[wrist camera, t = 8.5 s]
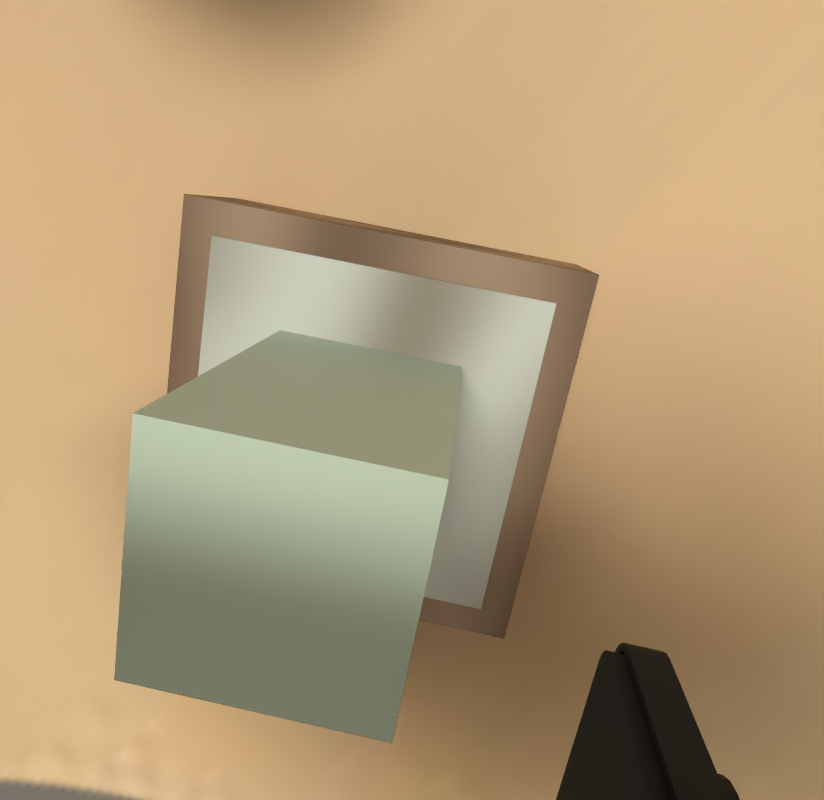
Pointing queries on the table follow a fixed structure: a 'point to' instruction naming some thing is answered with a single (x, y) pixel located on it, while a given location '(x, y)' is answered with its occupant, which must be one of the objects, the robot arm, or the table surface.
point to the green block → (287, 530)
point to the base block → (412, 336)
